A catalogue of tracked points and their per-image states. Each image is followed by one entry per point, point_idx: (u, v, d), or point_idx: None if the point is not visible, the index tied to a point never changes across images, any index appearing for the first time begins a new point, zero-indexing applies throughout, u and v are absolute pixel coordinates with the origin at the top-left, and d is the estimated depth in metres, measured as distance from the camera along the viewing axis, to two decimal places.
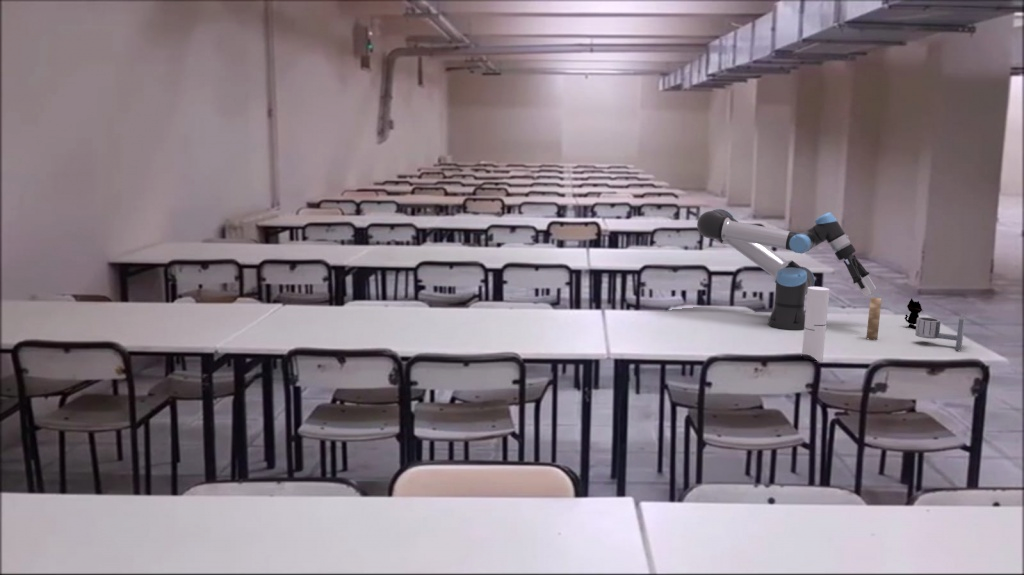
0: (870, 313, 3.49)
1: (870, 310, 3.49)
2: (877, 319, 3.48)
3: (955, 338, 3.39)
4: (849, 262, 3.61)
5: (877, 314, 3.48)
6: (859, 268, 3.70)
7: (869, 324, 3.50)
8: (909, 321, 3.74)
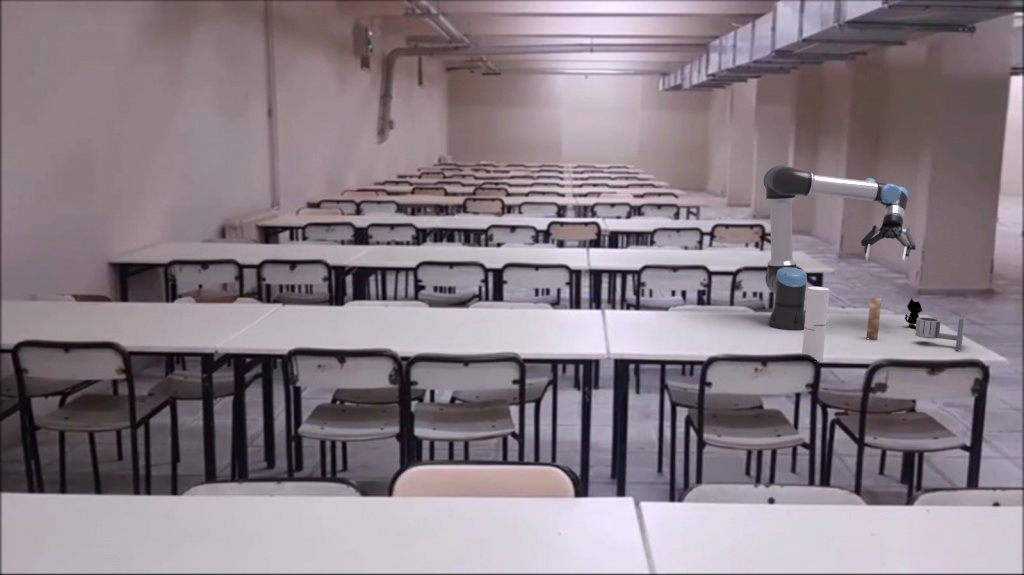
0: (870, 313, 3.49)
1: (870, 310, 3.49)
2: (877, 319, 3.48)
3: (955, 338, 3.39)
4: None
5: (877, 314, 3.48)
6: (878, 239, 3.65)
7: (869, 324, 3.50)
8: (909, 321, 3.74)
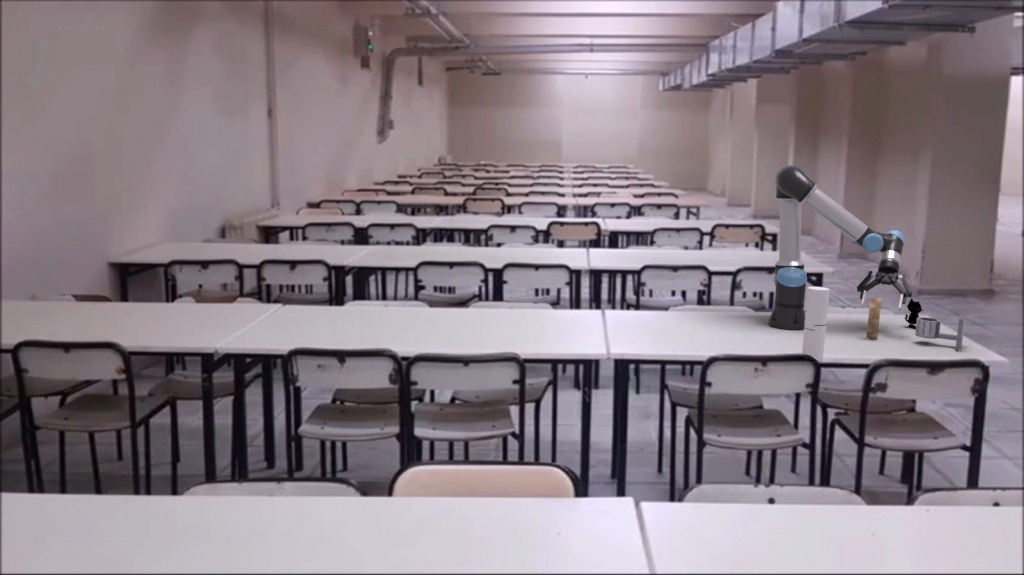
0: (870, 313, 3.49)
1: (870, 310, 3.49)
2: (877, 319, 3.48)
3: (955, 338, 3.39)
4: None
5: (877, 314, 3.48)
6: (874, 285, 3.60)
7: (869, 324, 3.50)
8: (909, 321, 3.74)
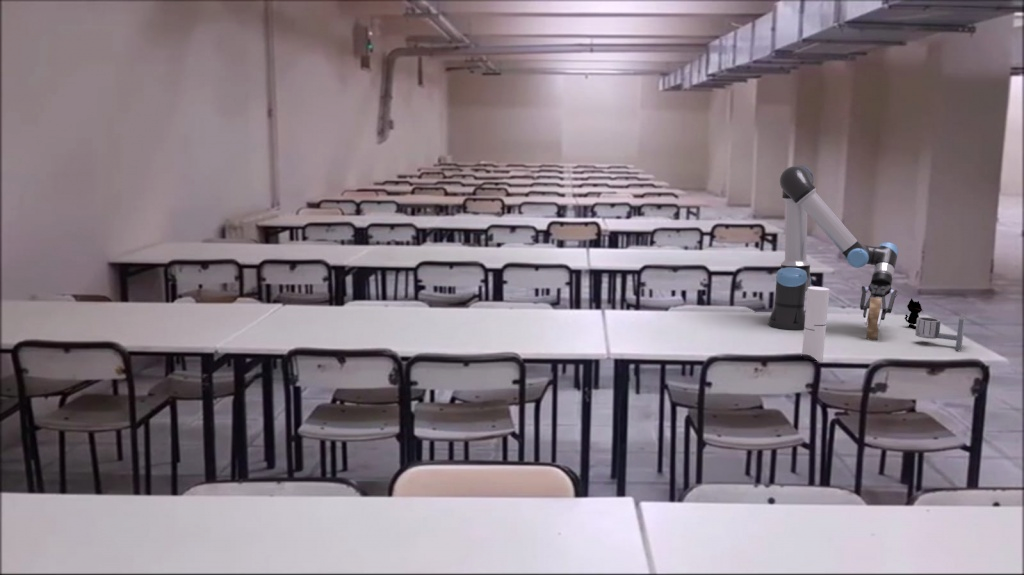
0: (870, 313, 3.49)
1: (870, 310, 3.49)
2: (877, 319, 3.48)
3: (955, 338, 3.39)
4: (895, 296, 3.52)
5: (877, 314, 3.48)
6: None
7: (869, 324, 3.50)
8: (909, 321, 3.74)
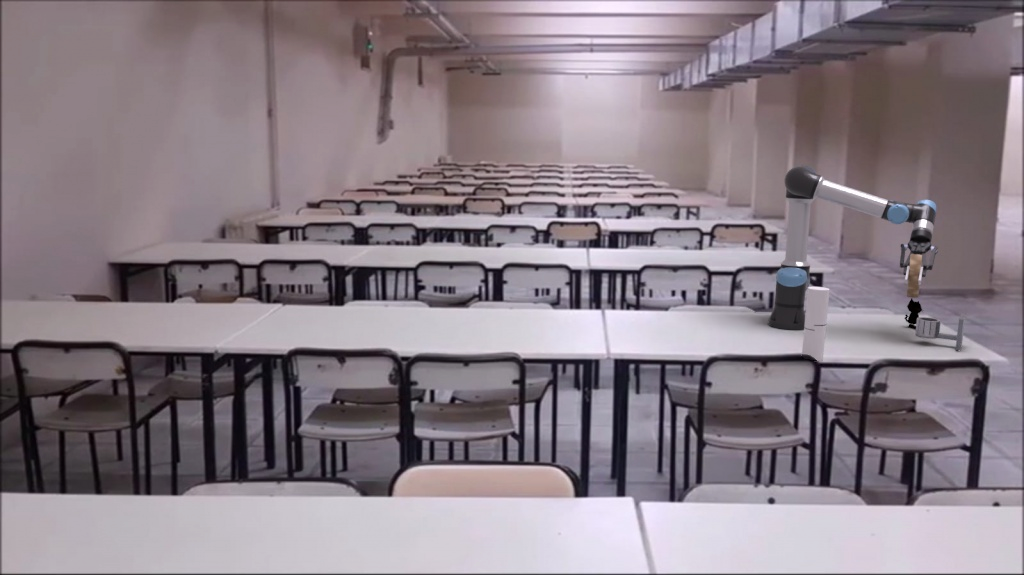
0: (910, 270, 3.42)
1: (910, 267, 3.42)
2: (918, 276, 3.41)
3: (955, 338, 3.39)
4: (936, 252, 3.45)
5: (918, 271, 3.41)
6: None
7: (910, 281, 3.43)
8: (909, 321, 3.74)
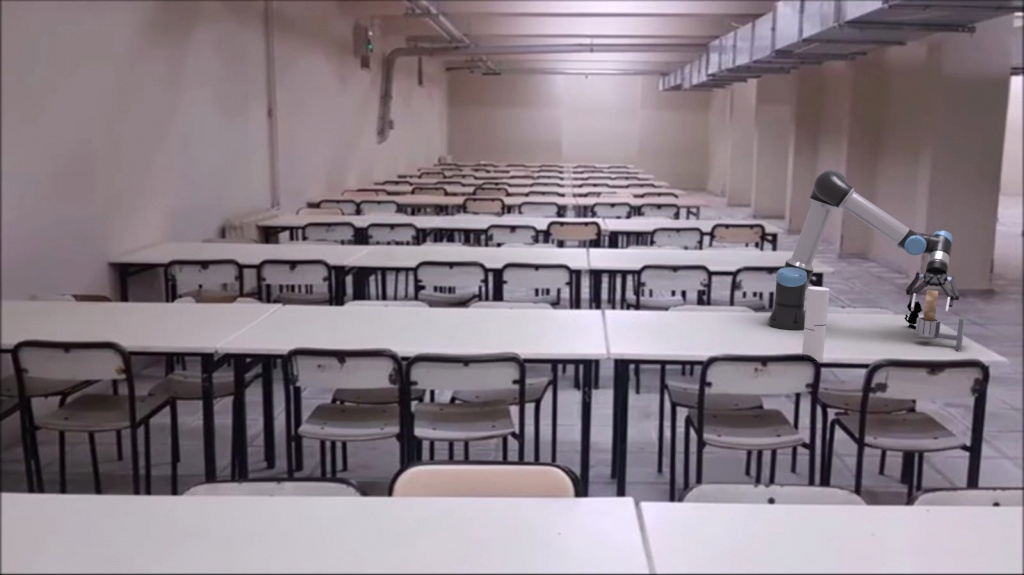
0: (926, 306, 3.43)
1: (926, 303, 3.43)
2: (933, 312, 3.42)
3: (955, 338, 3.39)
4: None
5: (934, 307, 3.41)
6: (923, 287, 3.49)
7: (925, 317, 3.43)
8: (909, 321, 3.74)
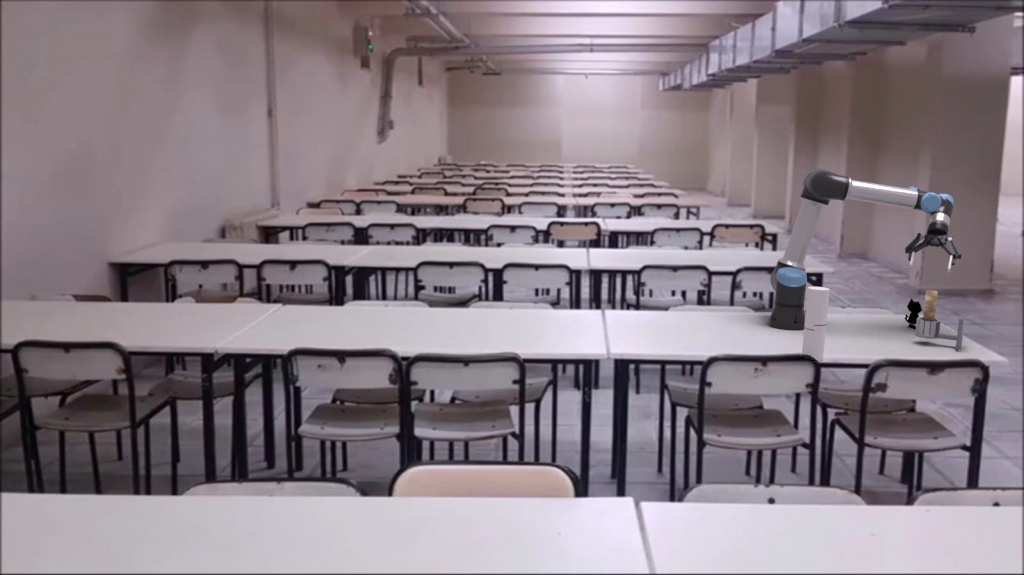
0: (926, 306, 3.43)
1: (926, 303, 3.43)
2: (933, 312, 3.42)
3: (955, 338, 3.39)
4: None
5: (933, 307, 3.42)
6: (922, 247, 3.59)
7: (925, 317, 3.43)
8: (909, 321, 3.74)
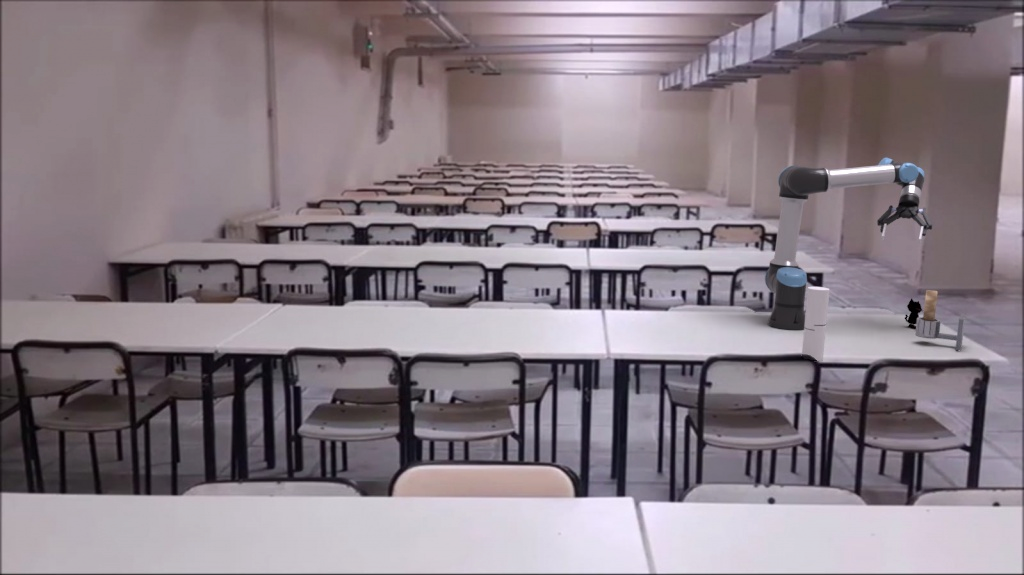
0: (926, 306, 3.43)
1: (926, 303, 3.43)
2: (933, 312, 3.42)
3: (955, 338, 3.39)
4: None
5: (933, 307, 3.42)
6: (894, 219, 3.64)
7: (925, 317, 3.43)
8: (909, 321, 3.74)
